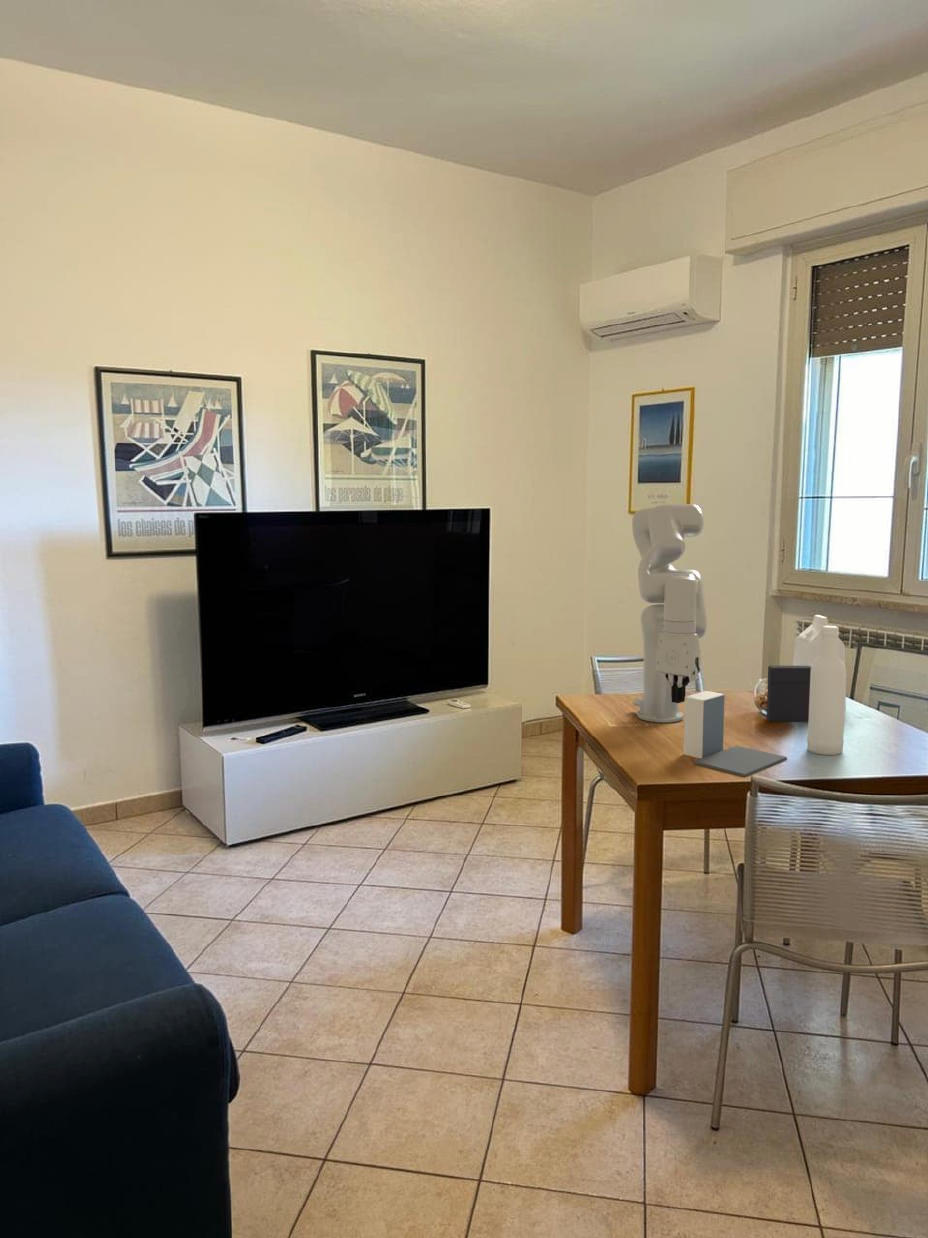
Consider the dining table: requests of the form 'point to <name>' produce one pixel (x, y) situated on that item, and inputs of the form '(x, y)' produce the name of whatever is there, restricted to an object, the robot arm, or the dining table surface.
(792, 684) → the dark grey box
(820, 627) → the milk
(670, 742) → the dining table surface
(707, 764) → the mat
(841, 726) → the bottle
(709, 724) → the flip block
